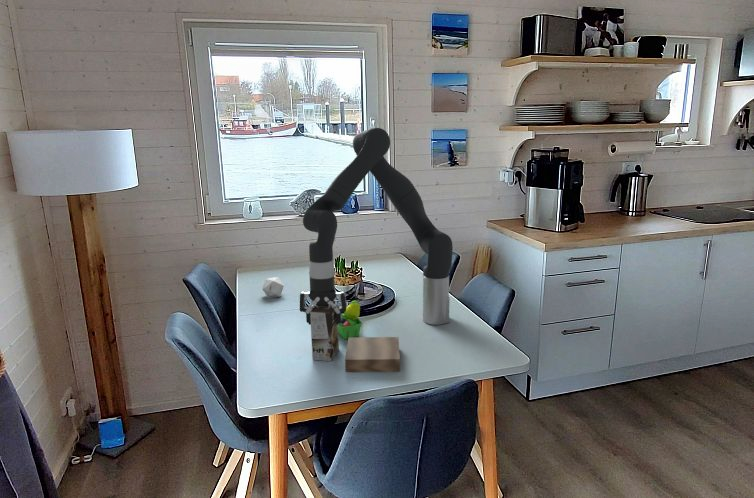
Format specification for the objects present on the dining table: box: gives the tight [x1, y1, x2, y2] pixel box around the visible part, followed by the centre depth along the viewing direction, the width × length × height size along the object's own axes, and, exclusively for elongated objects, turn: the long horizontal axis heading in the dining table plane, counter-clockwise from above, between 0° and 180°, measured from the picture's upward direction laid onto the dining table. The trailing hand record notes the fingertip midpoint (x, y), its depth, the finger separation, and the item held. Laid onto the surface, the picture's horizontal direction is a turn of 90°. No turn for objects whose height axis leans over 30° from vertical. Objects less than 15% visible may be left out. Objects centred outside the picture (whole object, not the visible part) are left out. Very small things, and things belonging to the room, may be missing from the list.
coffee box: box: [310, 305, 340, 362], centre depth 159 cm, size 9×6×16 cm
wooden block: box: [344, 336, 401, 373], centre depth 156 cm, size 16×15×4 cm
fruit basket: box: [338, 300, 363, 340], centre depth 175 cm, size 11×9×11 cm
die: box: [262, 276, 284, 299], centre depth 212 cm, size 8×9×10 cm
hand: (323, 323), depth 159 cm, fingers open, 8 cm apart
